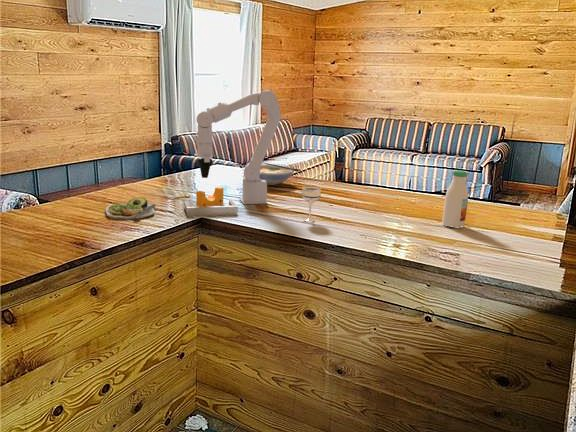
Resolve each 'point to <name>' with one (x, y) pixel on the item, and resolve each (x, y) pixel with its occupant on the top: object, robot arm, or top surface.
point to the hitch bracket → (211, 210)
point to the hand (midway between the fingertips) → (204, 177)
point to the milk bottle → (456, 200)
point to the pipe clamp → (209, 198)
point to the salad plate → (131, 209)
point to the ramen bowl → (275, 173)
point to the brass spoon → (182, 196)
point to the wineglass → (310, 196)
